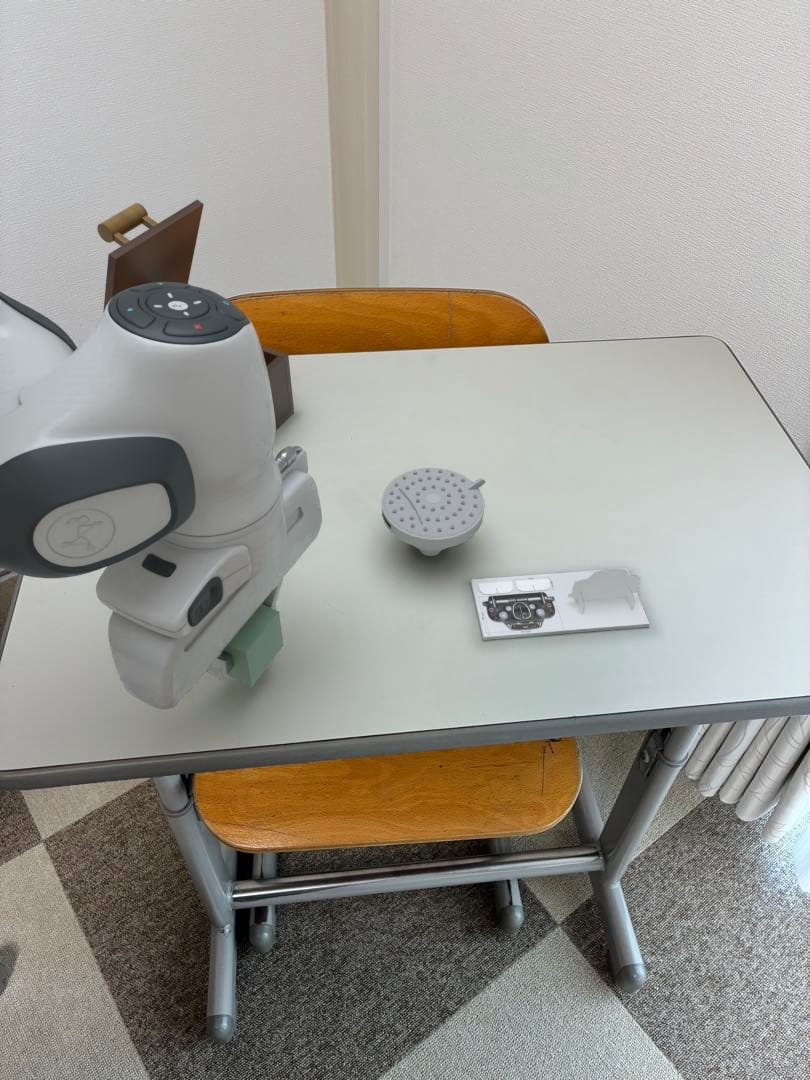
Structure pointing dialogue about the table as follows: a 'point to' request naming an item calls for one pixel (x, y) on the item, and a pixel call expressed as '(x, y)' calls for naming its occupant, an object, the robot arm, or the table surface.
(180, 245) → the lid
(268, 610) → the soap block
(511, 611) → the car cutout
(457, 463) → the table surface
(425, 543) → the showerhead
